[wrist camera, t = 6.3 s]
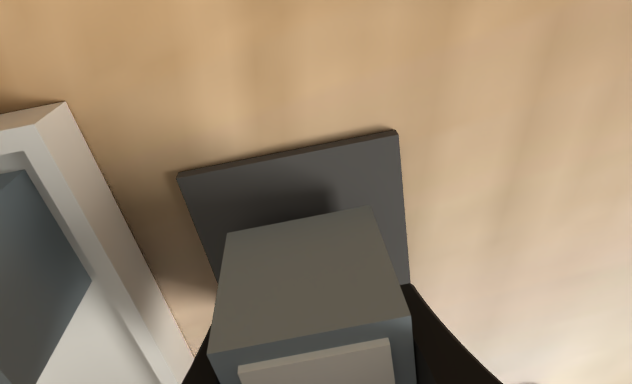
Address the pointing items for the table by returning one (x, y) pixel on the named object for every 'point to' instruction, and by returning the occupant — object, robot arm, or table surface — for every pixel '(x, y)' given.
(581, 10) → the table surface
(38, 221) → the plain block
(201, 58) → the table surface
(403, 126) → the table surface
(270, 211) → the dark grey square plate
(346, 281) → the labelled block
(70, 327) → the parts tray
